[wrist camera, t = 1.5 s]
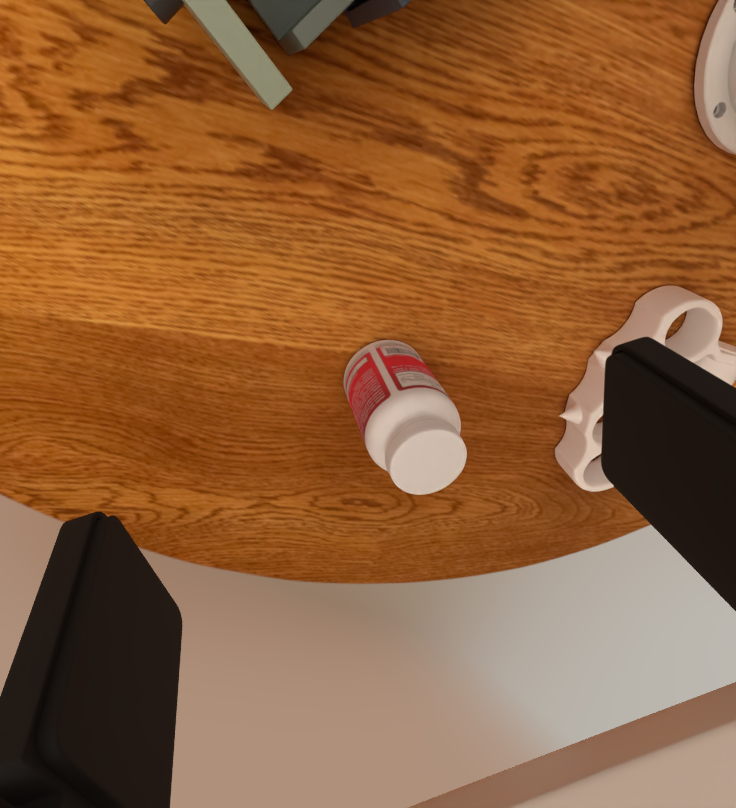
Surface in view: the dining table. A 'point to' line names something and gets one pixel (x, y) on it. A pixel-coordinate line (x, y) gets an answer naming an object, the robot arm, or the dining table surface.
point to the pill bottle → (405, 417)
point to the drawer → (284, 17)
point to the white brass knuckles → (645, 321)
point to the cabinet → (371, 10)
